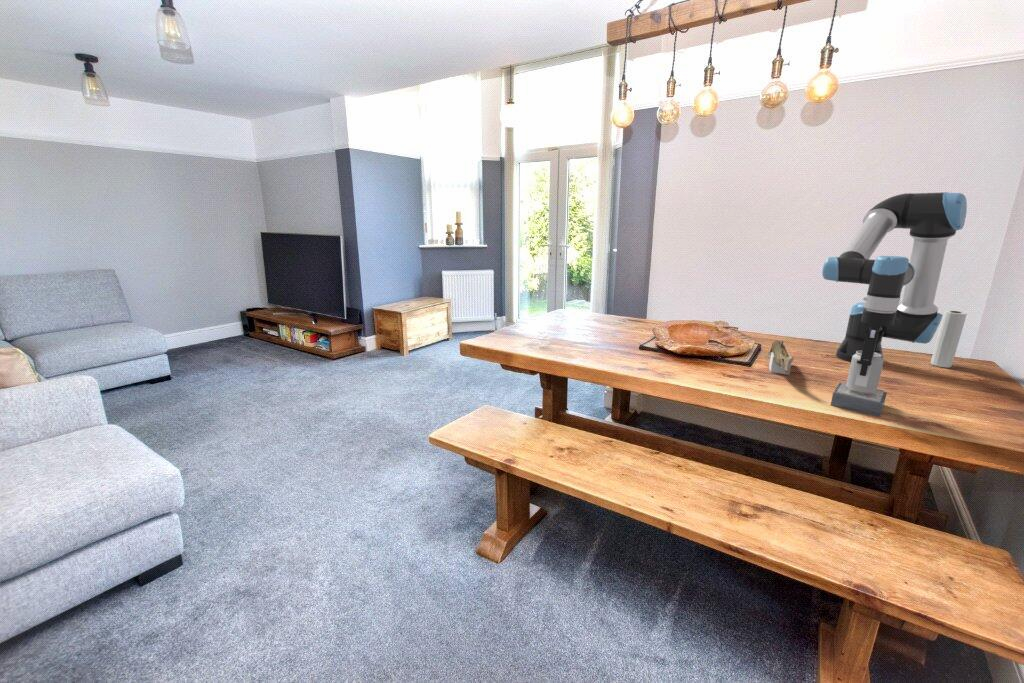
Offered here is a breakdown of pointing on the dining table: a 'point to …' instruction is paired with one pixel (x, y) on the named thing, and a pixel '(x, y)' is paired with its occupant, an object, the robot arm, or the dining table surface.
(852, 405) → the plinth
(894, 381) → the dining table surface
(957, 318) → the paper towel roll
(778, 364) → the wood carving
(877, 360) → the can
